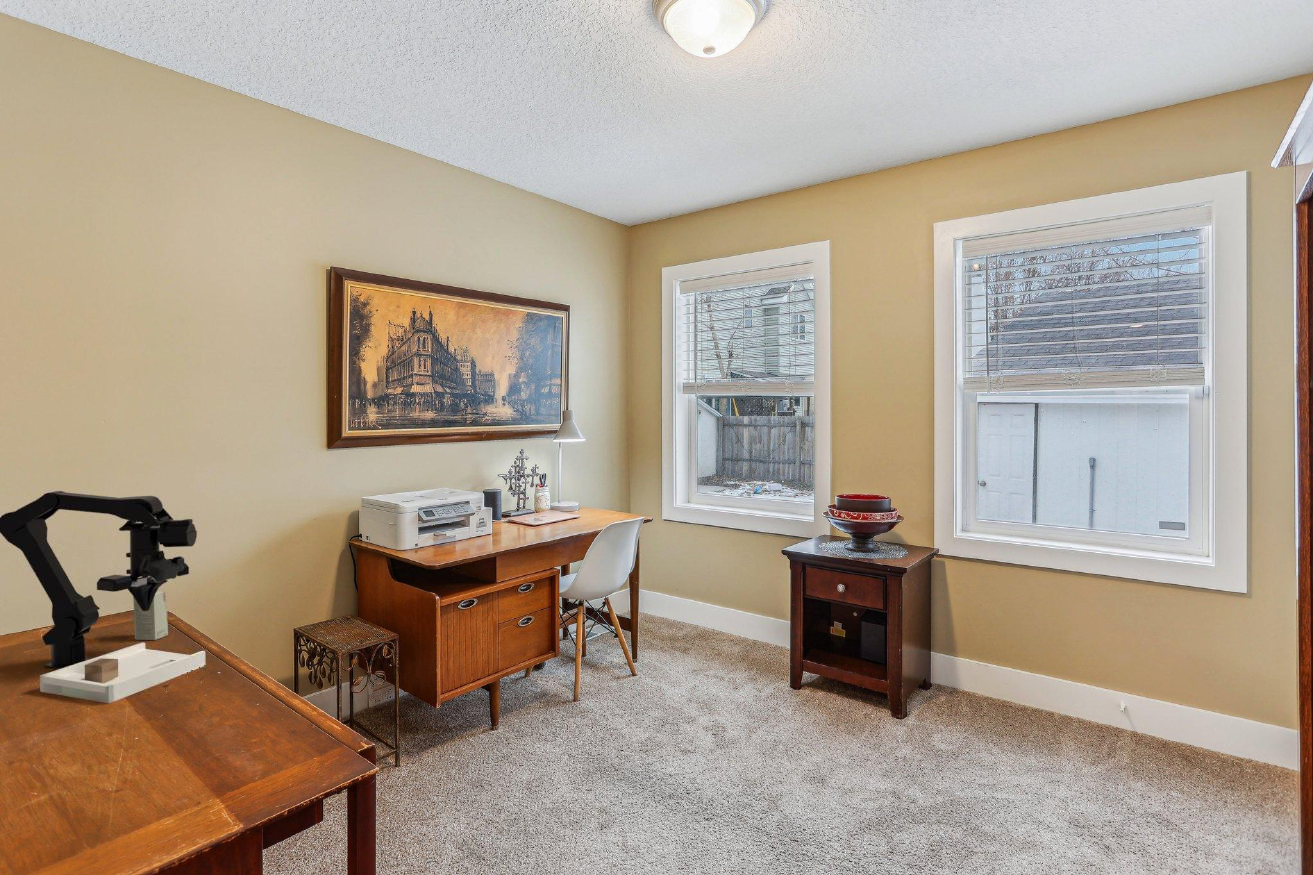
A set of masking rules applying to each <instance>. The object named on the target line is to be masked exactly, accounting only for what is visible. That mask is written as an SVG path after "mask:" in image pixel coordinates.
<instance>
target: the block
mask: <svg viewBox="0 0 1313 875" xmlns="http://www.w3.org/2000/svg"><path fill="white" fill-rule="evenodd" d="M117 677H118V659H105V658H101V659H98V660H96V661H93V662H91V663H88V664H86V665H85V680H86V681H92V682H98V683H106V682H108V681H110V680H112V679H114V678H117Z"/></svg>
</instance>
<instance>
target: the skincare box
mask: <svg viewBox="0 0 1313 875" xmlns="http://www.w3.org/2000/svg"><path fill="white" fill-rule="evenodd" d="M132 600H133V622H134V623H133V624H134V640H138V641H139V640H140V641H141V640H144V641H157V640H159V639H162V638H164V637H166V636H169V629H168V628H169V626H168V625H169V624H168V605H167V604H168V601H167V600H168V599H167V590H166V591H160V590H159V591H158V590H157V592H156V594H155V596H154V599H153V601H152V604H151V606H150V608H149V610H148V611H142V609H141V608H140V606H139V604H138V603H137V601H136V600H135V598H134V597H133V596H132Z"/></svg>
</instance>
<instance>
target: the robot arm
mask: <svg viewBox="0 0 1313 875" xmlns="http://www.w3.org/2000/svg"><path fill="white" fill-rule="evenodd" d="M59 510H64V511H72V512H73V511H74V512H83V513H84V512H85V513H94V514H95V513H96V514H104V515H105V514H107V515H112V516H114V517H117V518H119V519H122V520H126V522H125V523H124V524H123V525H122V526H121V527H119V528H118V530H119V531H120V532H129V552H125V558H130V559H129V560H130V561H129V563H130V564H129V566H130V568H128V569H126V570H125V571H126V575H125V574H124V575H122V574H113V575H108V576H104V577H103V576H102V577H100V578H98V580H97V581H96V590H97V591H101V592H102V591H103V592H110V593H111V592H120V591H125V590H128V591H129V593H130V594H131V595H132V598H133V597H134V598H135V600H136V601H137V603H138V604H139V606H140V608H141V609H142V611H148V610H149V608H150V606H151V604H152V601H153V599H154V596H155V594H156V592H157V591H158V590H159V588H160V587H161V586H162V585H164V584H166V583H167V582H168V580H169V579H172V580H173V579H176V578H177V577H182V576H186V575H189V574H190V566H189V565H188V563H187V562H185V558H184V557H183V556H174V557H172V558H166V557H165V552H164V550H160V545H161V546H163V547H164V548H182V547H193V546H194V545H195V544H196V541H197V535H198V533H197V529H196V526H195V524H194V523H193V520H194V519H193V518H184V519H174V518H173V517H172V516H171V515H170V513H168V512H167V510H166V509H165V508H164V505H163V503H162V501H161V500H160V498H159V497H157V496H154V495H141V496H140V495H138V496H126V497H123V496H122V497H115V496H107V495H105V496H104V495H95V494H94V495H93V494H83V493H74V492H66V491H62V490H56V491H50V492H49V491H48V492H47V493H44V494H43V495H41V496H40V497H39V498H37V499H35V500H33V501H31V502H29V503H28V504H25V505H24V506H22V507H20V508H18V509H16V510H14V511H11V512H6V513H4V514H2V515H1V516H0V535H1V536H2V537H3V538H4V539H5V540H6V542H7V543H10V545H13V546H14V547H16V548H17V549H18V550H20V551H21V552H22V553H23V555H24V557H25V559H26V561H27V563H28V564H29V566H30V567H31V570H32V571H33V572H34V574H35V576H36V578H37V580H38V582H39V583H40V585H41V587H42V588H43V590H44V591H45V594H46V595H47V597H48V598H49V600H50V602H51V620H52V621H53V625H54V626H53V627H52V628H50V629H49V630H48V631H47V632H46V633H45V634H44V635H42V638H41V639H42V641H43V642H44V644H45V645H46V646H50V648H51V649H50V652H51V653H50V656H51V657H50V658H51V661H50V662H49V663H48V662H47V663H45V664H44V665H43V667H44V668H50V669H56V670H59V669H62V668H65V667H68V666H71V665H74V664H77V663H80V662H84V661H87V660H90V659H93V657H86V643H85V641H86V639H85V637H84V635H86V634H88V633H90V631H91V629H92V626H94V625H95V624H96V623H97V621H98V619H99V616H100V613H99V610H100V606H98V605H97V604H96V603H95V600H94V598H93V595H92V594H89V595H87V596H85V597H84V596H83V595H81V594H80V593H78V592H77V591H76V589H75V587H74V586H73V585H74V584H73V583H72V582H71V580H70V579H69V576H68V575H67V573H66V572H65V569H64V568H63V567H62V566H63V565H62V564H61V562H60V561H59V559H58V557H57V556H56V554H55V553H54V551H53V548H52V547H51V546H50V544H49V542H48V526H47V522H46V520H49V519H50V518H51V517H53V516H54V515H55V514H56V513H57V512H58V511H59Z"/></svg>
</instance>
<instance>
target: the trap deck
mask: <svg viewBox="0 0 1313 875" xmlns="http://www.w3.org/2000/svg"><path fill="white" fill-rule="evenodd" d="M101 658H105V659H118V677H117V678H114V679H112V680H110V681H108V682H106V683H98V682H92V681H86V680H85V665H86V664H88V663H91V662H93V661H96V660H98V659H101ZM204 665H205V666H206V651H205V650H201V651H198V652H195V653H192V654H184V653H179V652H178V653H177V652H171V651H163V650H155V649H148V648H146V643H145V642H139V643H136V644H134V645H131V646H130V645H129V646H127V647H124V648H121V649H118V650H115V651H111V652H108V653H105V654H103V655H100V656H97V657H92V659H90V660H87V661H84V662H80V663H77V664H74V665H71V666H68V667H65V668H62V669H56V670H53V671H51V672H47V673H43V674H41V675H39V692H41V693H45V694H53V695H58V696H64V697H70V698H74V699H82V700H87V701H93V702H100V703H104V704H111V703H114V702H116V701H119V700H122V699H124V698H127V697H129V696H131V695H134V694H136V693H139V692H141V691H144V690H147V689H150V688H152V687H154V686H157V685H160V684H162V683H165V682H168V681H169V680H172V679H175V678H177V677H179V676H182V674H183V675H185V674H188V673H190V672H192V671H191V670H193V671H195V670H198V669H200V668H202V667H205V666H204ZM199 667H200V668H199ZM187 672H188V673H187Z"/></svg>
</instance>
